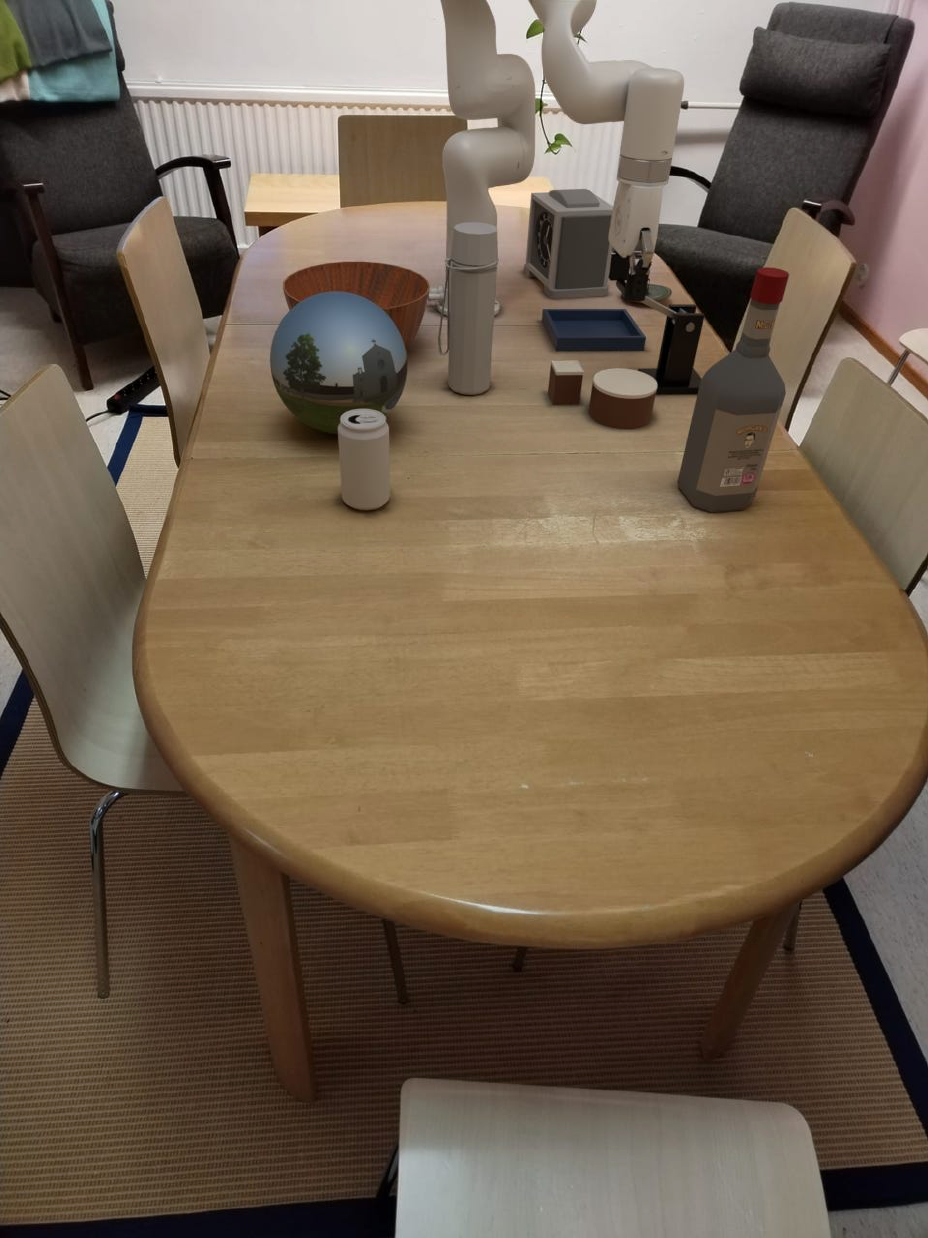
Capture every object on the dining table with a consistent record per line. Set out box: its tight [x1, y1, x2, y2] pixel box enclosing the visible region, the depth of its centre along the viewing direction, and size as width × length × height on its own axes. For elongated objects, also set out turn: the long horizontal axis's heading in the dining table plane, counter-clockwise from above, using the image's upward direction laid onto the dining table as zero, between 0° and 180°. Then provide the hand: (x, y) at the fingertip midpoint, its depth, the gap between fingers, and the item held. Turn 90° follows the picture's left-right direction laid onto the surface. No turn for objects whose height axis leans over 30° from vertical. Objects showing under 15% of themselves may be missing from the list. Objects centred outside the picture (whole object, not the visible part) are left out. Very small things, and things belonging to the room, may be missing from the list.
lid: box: [620, 278, 673, 304], centre depth 176 cm, size 11×10×5 cm
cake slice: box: [547, 360, 584, 406], centre depth 137 cm, size 4×4×6 cm
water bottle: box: [437, 222, 500, 396], centre depth 133 cm, size 9×8×25 cm
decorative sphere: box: [269, 291, 408, 435], centre depth 122 cm, size 20×20×20 cm
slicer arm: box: [615, 278, 688, 324], centre depth 136 cm, size 14×6×2 cm, turn 96°
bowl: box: [282, 261, 431, 352], centre depth 148 cm, size 25×25×11 cm
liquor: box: [677, 266, 790, 513], centre depth 108 cm, size 9×9×30 cm
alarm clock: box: [523, 188, 614, 300], centre depth 178 cm, size 18×13×18 cm
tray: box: [541, 308, 647, 352], centre depth 160 cm, size 17×15×2 cm
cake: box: [588, 367, 657, 430], centre depth 134 cm, size 10×10×6 cm
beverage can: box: [337, 409, 391, 511], centre depth 109 cm, size 6×6×12 cm
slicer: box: [637, 303, 706, 396], centre depth 141 cm, size 10×8×13 cm
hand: (625, 289), depth 133 cm, fingers open, 9 cm apart
